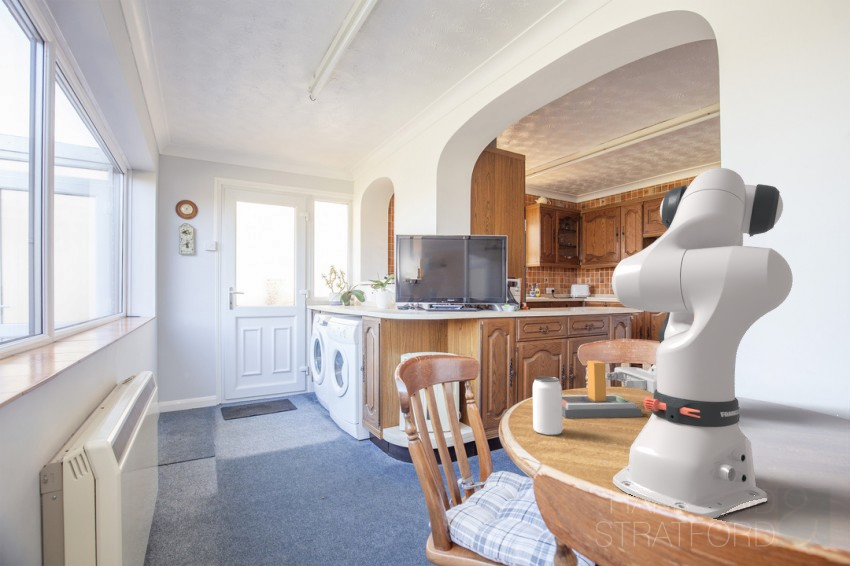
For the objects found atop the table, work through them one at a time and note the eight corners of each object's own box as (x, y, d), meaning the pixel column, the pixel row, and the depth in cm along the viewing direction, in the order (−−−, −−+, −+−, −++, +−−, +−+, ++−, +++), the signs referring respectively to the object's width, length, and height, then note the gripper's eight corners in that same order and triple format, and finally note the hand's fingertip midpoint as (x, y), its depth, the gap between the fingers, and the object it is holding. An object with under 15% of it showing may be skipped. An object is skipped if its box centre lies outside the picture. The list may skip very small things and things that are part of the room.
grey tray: (618, 405, 113) (618, 393, 113) (641, 416, 102) (641, 404, 102) (549, 406, 112) (549, 394, 112) (565, 418, 101) (565, 405, 101)
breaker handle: (600, 399, 110) (599, 360, 111) (611, 405, 104) (610, 363, 105) (583, 400, 110) (582, 360, 110) (593, 405, 104) (592, 363, 104)
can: (565, 429, 92) (564, 377, 93) (558, 438, 87) (557, 382, 87) (537, 425, 96) (537, 375, 96) (529, 432, 90) (528, 379, 91)
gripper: (642, 361, 118) (597, 362, 118) (690, 374, 98) (636, 375, 97) (642, 382, 118) (597, 383, 118) (691, 400, 98) (636, 401, 97)
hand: (615, 379), depth 107 cm, fingers open, 8 cm apart
